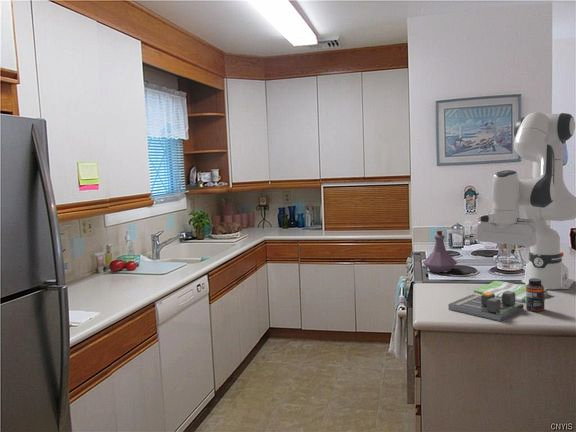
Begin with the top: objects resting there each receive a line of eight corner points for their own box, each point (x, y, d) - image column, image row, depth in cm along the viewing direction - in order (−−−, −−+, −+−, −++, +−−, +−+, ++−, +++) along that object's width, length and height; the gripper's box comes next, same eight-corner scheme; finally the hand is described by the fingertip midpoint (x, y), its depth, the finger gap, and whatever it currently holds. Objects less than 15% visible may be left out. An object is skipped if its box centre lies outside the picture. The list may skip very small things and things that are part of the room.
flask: (456, 267, 245) (455, 228, 243) (459, 275, 229) (458, 233, 227) (422, 267, 249) (421, 228, 247) (423, 274, 234) (422, 234, 231)
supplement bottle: (538, 306, 178) (538, 276, 177) (547, 311, 172) (548, 280, 171) (522, 307, 178) (522, 277, 177) (531, 312, 172) (531, 281, 171)
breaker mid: (486, 301, 180) (486, 291, 179) (494, 303, 177) (494, 292, 177) (481, 304, 177) (481, 293, 177) (489, 306, 175) (489, 295, 174)
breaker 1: (492, 308, 172) (492, 297, 172) (500, 309, 170) (500, 298, 170) (486, 310, 170) (486, 299, 169) (494, 312, 168) (494, 301, 167)
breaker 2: (507, 301, 179) (507, 290, 179) (515, 302, 177) (515, 292, 176) (502, 303, 177) (502, 293, 176) (510, 305, 174) (510, 294, 174)
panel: (472, 299, 191) (472, 293, 191) (523, 309, 176) (523, 303, 176) (448, 309, 181) (448, 303, 180) (500, 321, 165) (500, 315, 165)
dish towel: (527, 305, 182) (527, 296, 182) (472, 293, 200) (472, 285, 200) (549, 296, 192) (549, 287, 192) (495, 285, 210) (495, 277, 210)
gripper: (540, 218, 162) (539, 258, 164) (482, 214, 178) (483, 251, 180) (531, 220, 158) (531, 261, 160) (473, 216, 174) (474, 254, 176)
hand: (505, 256), depth 170 cm, fingers closed
